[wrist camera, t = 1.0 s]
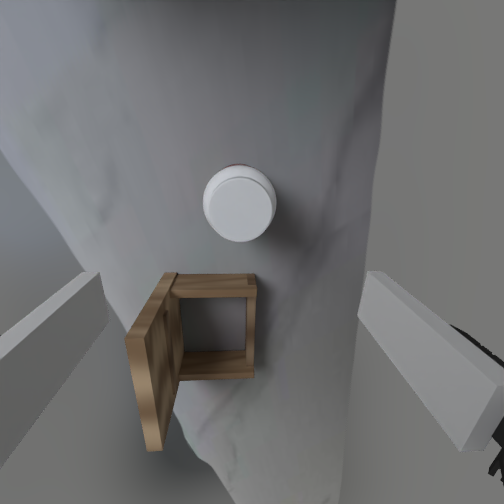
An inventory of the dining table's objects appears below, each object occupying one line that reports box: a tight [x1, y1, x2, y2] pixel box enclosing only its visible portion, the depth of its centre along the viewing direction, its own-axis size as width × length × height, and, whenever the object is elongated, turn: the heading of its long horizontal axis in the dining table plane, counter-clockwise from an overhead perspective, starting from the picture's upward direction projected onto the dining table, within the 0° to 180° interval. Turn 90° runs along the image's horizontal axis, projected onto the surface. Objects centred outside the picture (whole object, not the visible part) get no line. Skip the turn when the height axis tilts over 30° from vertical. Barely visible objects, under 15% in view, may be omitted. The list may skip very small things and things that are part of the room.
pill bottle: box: [203, 164, 277, 242], centre depth 23 cm, size 6×6×11 cm
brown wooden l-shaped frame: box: [125, 273, 257, 451], centre depth 28 cm, size 14×11×12 cm
